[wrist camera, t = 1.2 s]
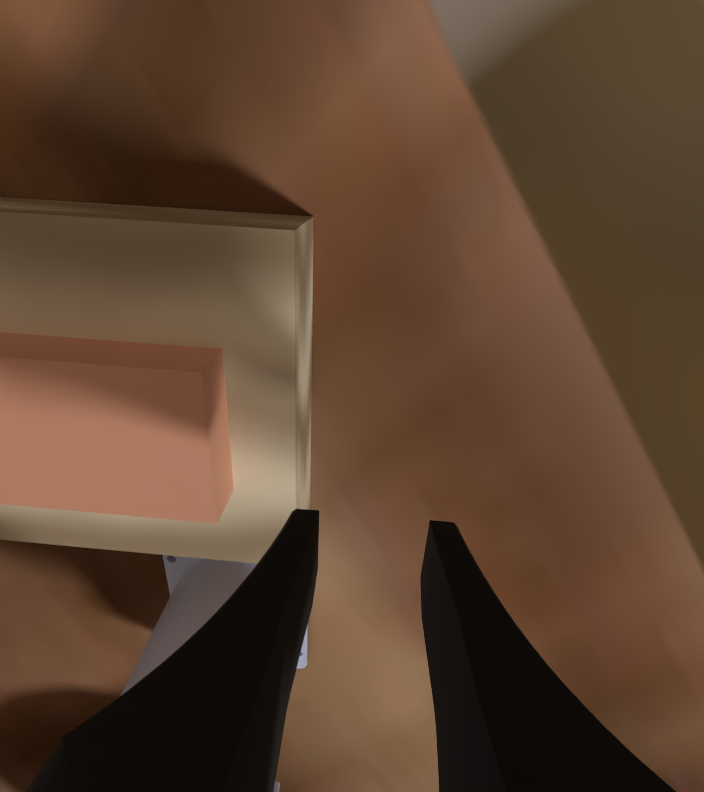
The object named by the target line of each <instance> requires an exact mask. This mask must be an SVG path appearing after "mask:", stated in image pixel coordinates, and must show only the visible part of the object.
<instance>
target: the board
mask: <svg viewBox="0 0 704 792" xmlns="http://www.w3.org/2000/svg"><path fill="white" fill-rule="evenodd" d="M313 222H314V216H299V215H283V214H267V213H251V212H235V211H219V210H203V209H187V208H171V207H155V206H139V205H122V204H106V203H90V202H74V201H58V200H42V199H26V198H10V197H0V332H4V333H17V334H31V335H44V336H58V337H71V338H85V339H98V340H111V341H125V342H138V343H152V344H165V345H179V346H192V347H205V348H219V349H223V361H224V373H225V386H226V398H227V411H228V423H229V436H230V448H231V461H232V473H233V486H234V490H233V492H232V494H231V496H230V498H229V500H228V502H227V504H226V507H225V509H224V511H223V513H222V515H221V517H220V519H219V521H218V523H217V524H215V523H204V522H193V521H181V520H170V519H159V518H148V517H137V516H126V515H115V514H103V513H92V512H81V511H70V510H59V509H48V508H37V507H26V506H14V505H3V504H0V540H9V541H20V542H31V543H41V544H52V545H63V546H74V547H84V548H95V549H106V550H117V551H127V552H138V553H149V554H160V555H171V556H181V557H192V558H203V559H214V560H224V561H235V562H246V563H257V564H258V562H259V561H260V559H261V558H262V557H263V555H264V554H265V553H266V551H267V550H268V549H269V547H270V546H271V544H272V543H273V542H274V540H275V539H276V537H277V536H278V534H279V533H280V531H281V529H282V528H283V526H284V525H285V523H286V521H287V520H288V518H289V516H290V514H291V512H292V511H293V510H295V509H306V510H309V508H310V459H311V380H312V301H313Z"/></svg>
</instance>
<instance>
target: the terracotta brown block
mask: <svg viewBox="0 0 704 792" xmlns="http://www.w3.org/2000/svg"><path fill="white" fill-rule="evenodd" d="M233 490H234V486H233V473H232V461H231V448H230V436H229V423H228V411H227V398H226V386H225V373H224V361H223V349H219V348H205V347H192V346H179V345H165V344H152V343H138V342H125V341H111V340H98V339H85V338H71V337H58V336H44V335H31V334H17V333H4V332H0V504H3V505H14V506H26V507H37V508H48V509H59V510H70V511H81V512H92V513H103V514H115V515H126V516H137V517H148V518H159V519H170V520H181V521H193V522H204V523H215V524H217V523H218V521H219V519H220V517H221V515H222V513H223V511H224V509H225V507H226V504H227V502H228V500H229V498H230V496H231V494H232V492H233Z"/></svg>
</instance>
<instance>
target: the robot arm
mask: <svg viewBox="0 0 704 792" xmlns="http://www.w3.org/2000/svg"><path fill="white" fill-rule="evenodd" d="M318 535H319V511H318V510H306V509H295V510H293V511H292V512H291V514H290V516H289V518H288V520H287V521H286V523H285V525H284V526H283V528H282V529H281V531H280V533H279V534H278V536H277V537H276V539H275V540H274V542H273V543H272V544H271V546H270V547H269V549H268V550H267V551H266V553H265V554H264V555H263V557H262V558H261V559H260V561H259V562H258V564H257V563H246V562H235V561H224V560H214V559H203V558H192V557H181V556H174V557H173V556H171V555H163V560H164V566H165V572H166V577H167V583H168V588H169V594H170V598H169V600H168V602H167V604H166V606H165V608H164V610H163V612H162V614H161V616H160V618H159V620H158V622H157V624H156V626H155V628H154V629H153V631H152V633H151V635H150V637H149V639H148V641H147V643H146V645H145V647H144V649H143V651H142V653H141V655H140V657H139V659H138V661H137V663H136V665H135V667H134V669H133V671H132V673H131V675H130V677H129V679H128V681H127V683H126V685H125V687H124V689H123V691H122V693H121V695H120V697H118V698H117V699H116V700H114V701H113V702H111V703H110V704H109V705H107V706H106V707H104V708H103V709H102V710H100V711H99V712H97V713H96V714H95V715H93V716H92V717H90V718H89V719H87V720H86V721H85V722H83V723H82V724H80V725H79V726H78V727H76V728H75V729H73V730H72V731H70V732H69V733H67V734H66V735H65V736H64V737H63V738H62V739H61V741H60V742H59V744H58V745H57V747H56V748H55V749H54V751H53V752H52V754H51V755H50V757H49V758H48V759H47V761H46V762H45V764H44V765H43V767H42V768H41V770H40V771H39V772H38V774H37V775H36V777H35V779H34V780H33V782H32V784H31V786H30V787H29V789H28V791H27V792H279V788H280V783H279V782H278V781H276V780H275V778H276V772H277V765H278V759H279V753H280V747H281V741H282V735H283V729H284V723H285V716H286V711H287V706H288V702H289V697H290V692H291V688H292V684H293V680H294V676H295V672H296V668H298V669H301V668H304V667H305V666H306V665H307V651H308V621H309V617H310V613H311V608H312V604H313V597H314V590H315V583H316V576H317V569H318ZM421 609H422V622H423V630H424V637H425V645H426V652H427V659H428V666H429V674H430V681H431V688H432V695H433V703H434V711H435V721H436V733H437V752H438V772H439V792H676V791H674V790H673V789H672V788H671V787H670V786H669V785H668V784H666V783H665V782H664V781H663V780H662V779H661V778H660V777H658V776H657V775H656V774H655V773H654V772H653V771H652V770H650V769H649V768H648V767H647V766H646V765H645V764H644V763H642V762H641V761H640V760H639V759H638V758H637V757H636V756H635V755H634V754H632V753H631V752H630V751H629V750H628V749H627V748H626V747H625V746H624V745H623V744H622V743H621V742H620V741H619V740H618V739H617V738H616V737H615V736H614V735H613V734H612V733H611V732H609V731H608V730H607V729H606V728H605V727H604V726H603V725H602V724H601V723H600V722H599V720H598V719H597V718H596V717H595V716H594V715H593V714H592V713H591V712H590V711H589V710H588V709H587V708H586V707H585V706H584V705H583V704H582V703H581V701H580V700H579V699H578V698H577V697H576V696H575V695H574V694H573V693H572V692H571V691H570V690H569V689H568V688H567V687H566V686H565V684H564V683H563V682H562V681H561V680H560V679H559V677H558V676H557V675H556V674H555V673H554V672H553V670H552V669H551V668H550V667H549V666H548V665H547V663H546V662H545V661H544V660H543V659H542V657H541V656H540V655H539V654H538V652H537V651H536V650H535V649H534V647H533V646H532V645H531V644H530V642H529V641H528V640H527V638H526V637H525V636H524V634H523V633H522V632H521V630H520V629H519V628H518V626H517V625H516V624H515V622H514V621H513V619H512V618H511V616H510V615H509V614H508V612H507V611H506V609H505V608H504V606H503V605H502V603H501V602H500V600H499V599H498V597H497V596H496V594H495V593H494V591H493V590H492V588H491V586H490V585H489V583H488V582H487V580H486V578H485V577H484V575H483V573H482V572H481V570H480V568H479V567H478V565H477V563H476V561H475V560H474V558H473V556H472V554H471V553H470V551H469V549H468V547H467V545H466V543H465V541H464V539H463V537H462V535H461V533H460V531H459V529H458V527H457V526H456V525H455V523H454V522H443V521H432V520H430V523H429V529H428V535H427V541H426V547H425V554H424V560H423V566H422V572H421Z"/></svg>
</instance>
